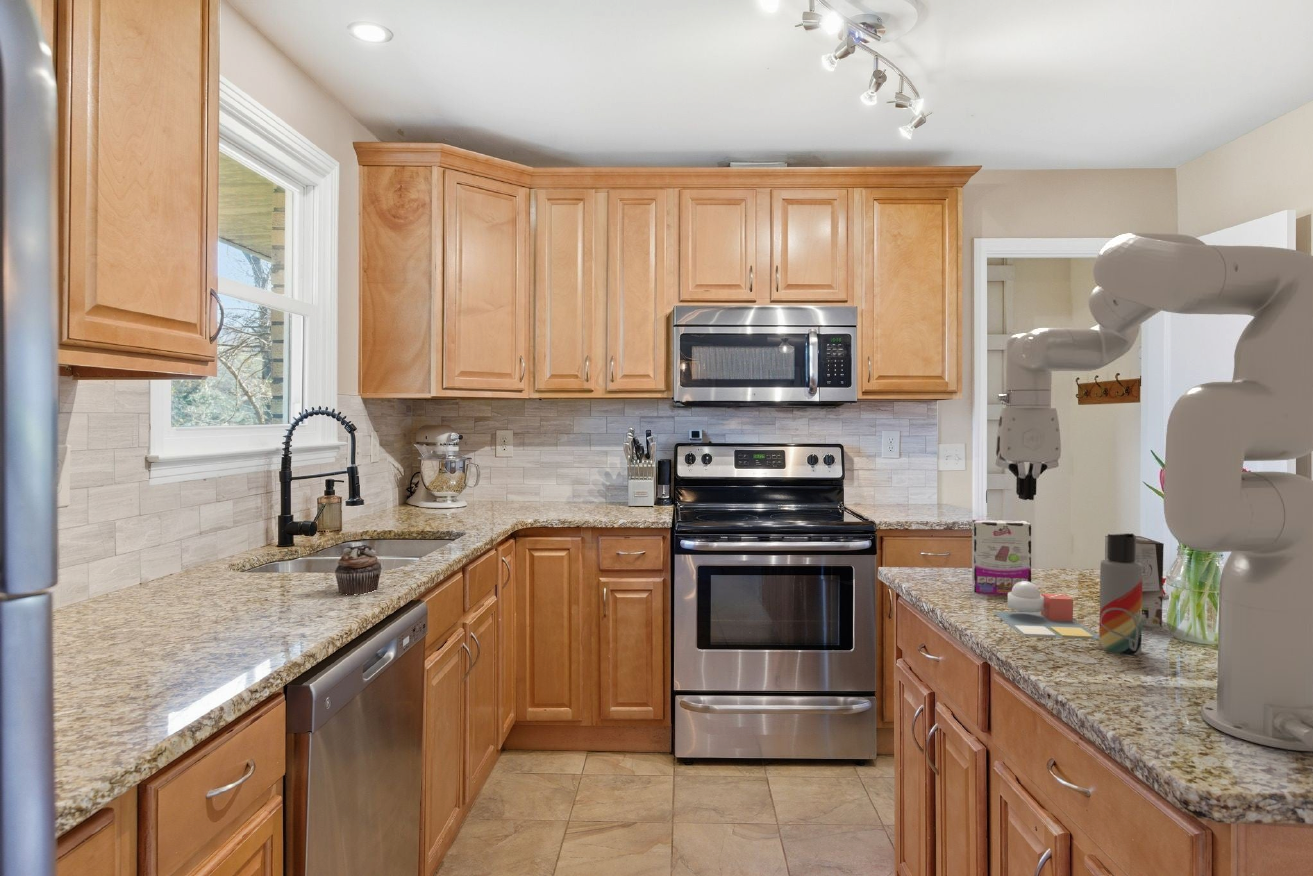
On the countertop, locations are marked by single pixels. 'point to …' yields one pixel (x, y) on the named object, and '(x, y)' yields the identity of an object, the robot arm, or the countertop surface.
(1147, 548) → the coffee box
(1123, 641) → the lotion bottle
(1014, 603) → the dome
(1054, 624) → the game board
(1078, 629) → the pad
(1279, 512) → the robot arm
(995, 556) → the candy bar box
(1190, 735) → the countertop surface
